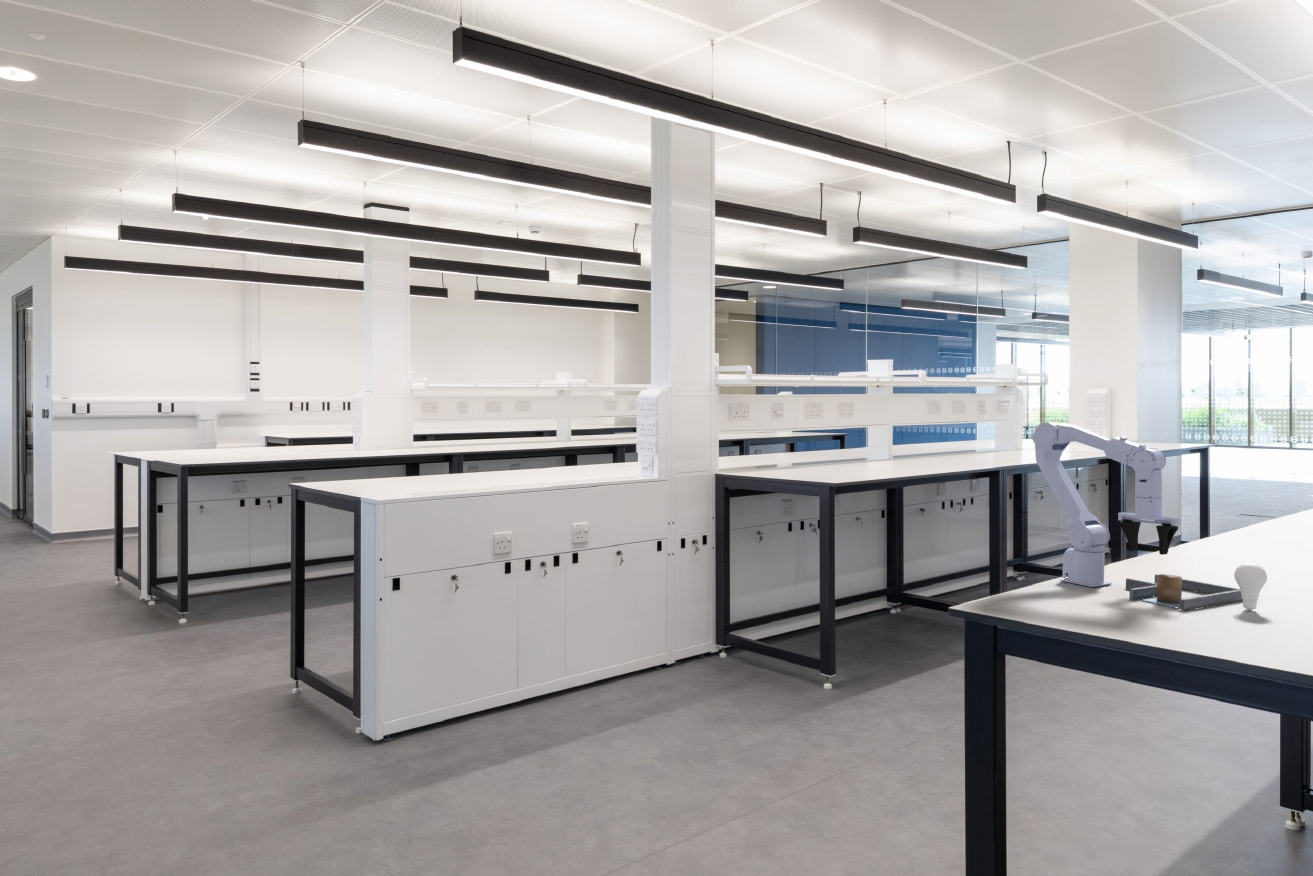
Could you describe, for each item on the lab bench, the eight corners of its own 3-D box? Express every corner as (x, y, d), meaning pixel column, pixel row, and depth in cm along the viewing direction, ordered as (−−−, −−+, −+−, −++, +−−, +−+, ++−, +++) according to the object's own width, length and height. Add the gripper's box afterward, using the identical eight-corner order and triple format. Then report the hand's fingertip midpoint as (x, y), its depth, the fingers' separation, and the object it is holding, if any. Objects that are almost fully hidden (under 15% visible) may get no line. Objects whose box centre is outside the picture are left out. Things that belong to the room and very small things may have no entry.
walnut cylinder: (1152, 600, 202) (1152, 575, 202) (1164, 598, 204) (1165, 573, 204) (1173, 604, 198) (1173, 579, 197) (1185, 602, 200) (1186, 577, 200)
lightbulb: (1227, 609, 195) (1228, 561, 195) (1243, 606, 198) (1245, 559, 197) (1255, 614, 190) (1257, 566, 189) (1272, 612, 192) (1273, 564, 192)
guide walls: (1096, 592, 212) (1097, 582, 212) (1156, 583, 223) (1157, 574, 223) (1184, 610, 193) (1184, 600, 193) (1244, 600, 204) (1245, 590, 204)
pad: (1141, 601, 203) (1142, 599, 203) (1162, 597, 206) (1162, 596, 206) (1175, 608, 196) (1175, 606, 196) (1196, 604, 199) (1196, 603, 199)
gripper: (1187, 498, 206) (1187, 554, 206) (1130, 494, 219) (1130, 547, 219) (1170, 500, 203) (1170, 557, 203) (1113, 495, 215) (1112, 549, 216)
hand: (1148, 552), depth 211 cm, fingers open, 7 cm apart
